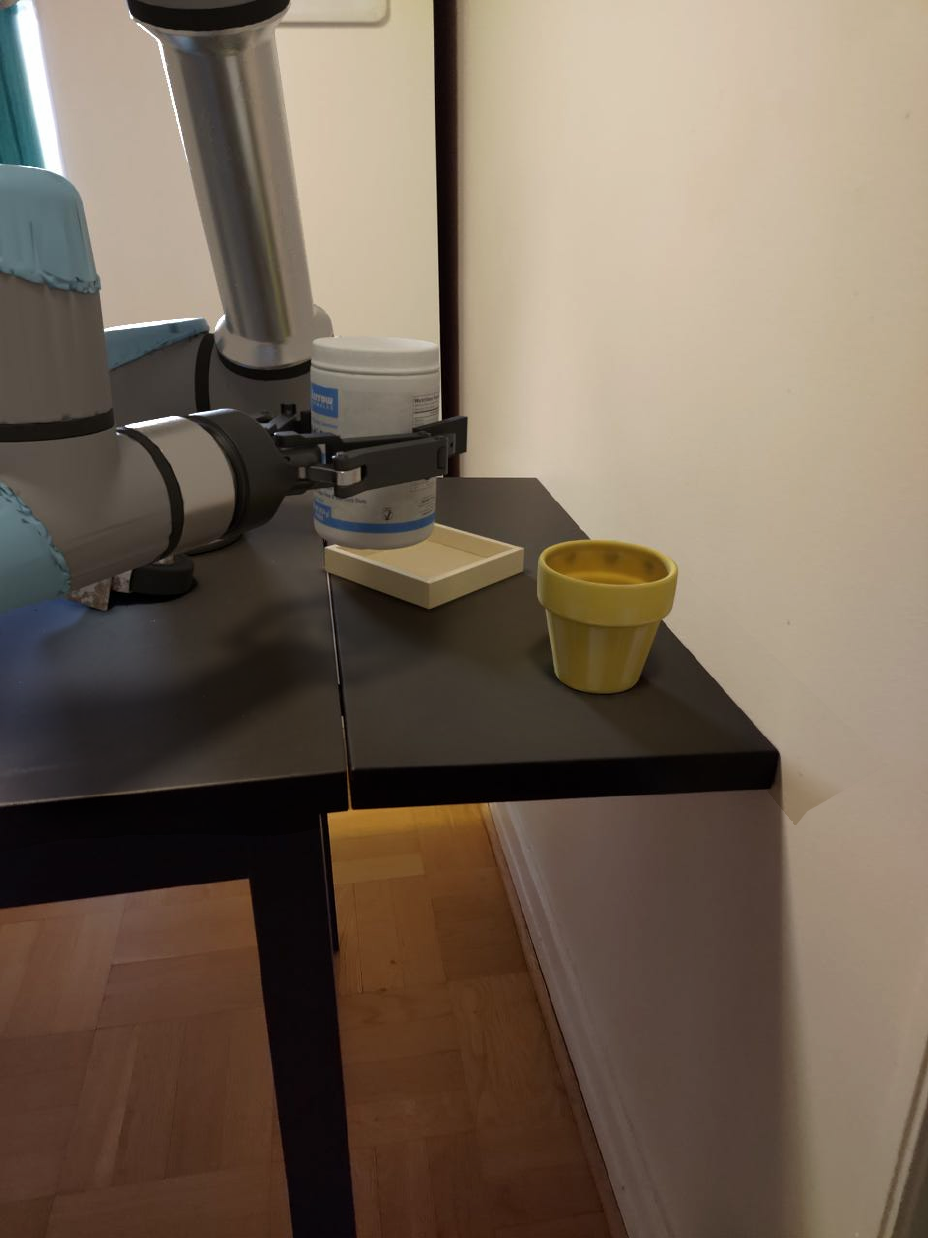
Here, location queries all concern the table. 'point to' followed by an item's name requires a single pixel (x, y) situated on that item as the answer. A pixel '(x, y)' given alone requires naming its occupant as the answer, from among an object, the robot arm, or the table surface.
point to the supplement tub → (374, 433)
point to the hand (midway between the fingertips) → (407, 425)
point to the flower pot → (603, 609)
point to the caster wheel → (140, 582)
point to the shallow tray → (429, 566)
